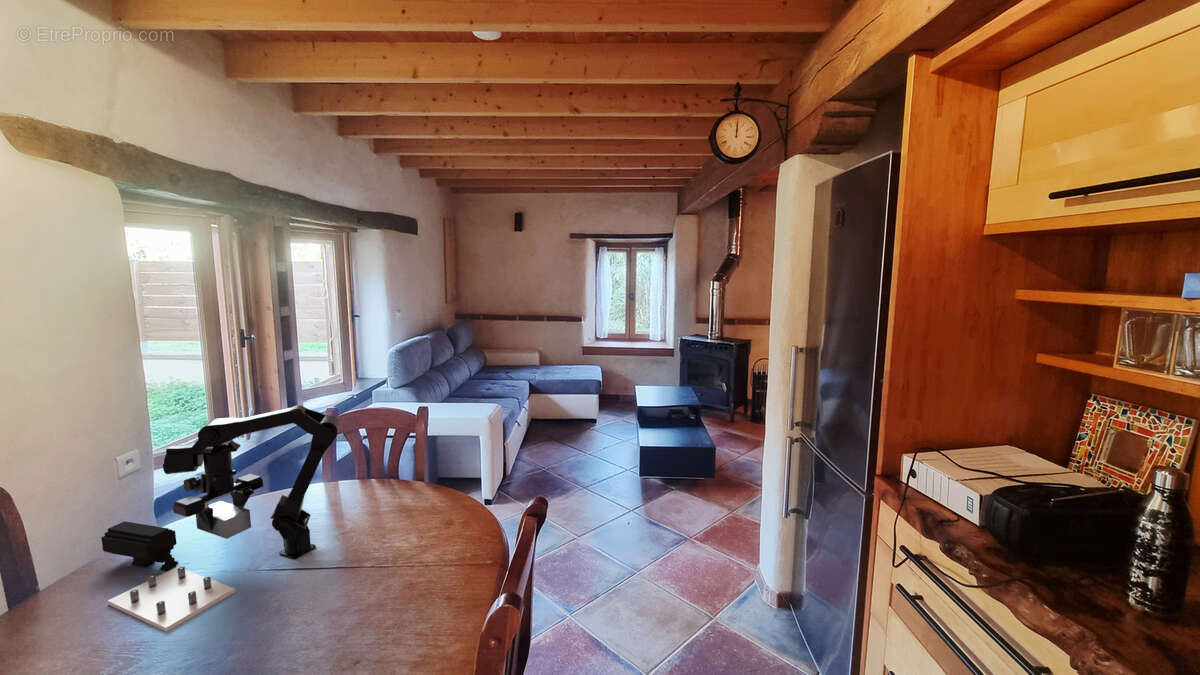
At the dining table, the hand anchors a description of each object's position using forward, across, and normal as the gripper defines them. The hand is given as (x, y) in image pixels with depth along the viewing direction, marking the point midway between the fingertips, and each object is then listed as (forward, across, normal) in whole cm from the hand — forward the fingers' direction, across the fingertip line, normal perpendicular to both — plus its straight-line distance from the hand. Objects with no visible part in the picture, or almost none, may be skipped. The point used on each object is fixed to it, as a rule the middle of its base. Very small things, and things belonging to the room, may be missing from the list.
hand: (223, 524), depth 127 cm
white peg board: (+11, +14, +3) cm, 18 cm away
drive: (+1, 0, 0) cm, 1 cm away
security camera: (+11, +9, -18) cm, 23 cm away
